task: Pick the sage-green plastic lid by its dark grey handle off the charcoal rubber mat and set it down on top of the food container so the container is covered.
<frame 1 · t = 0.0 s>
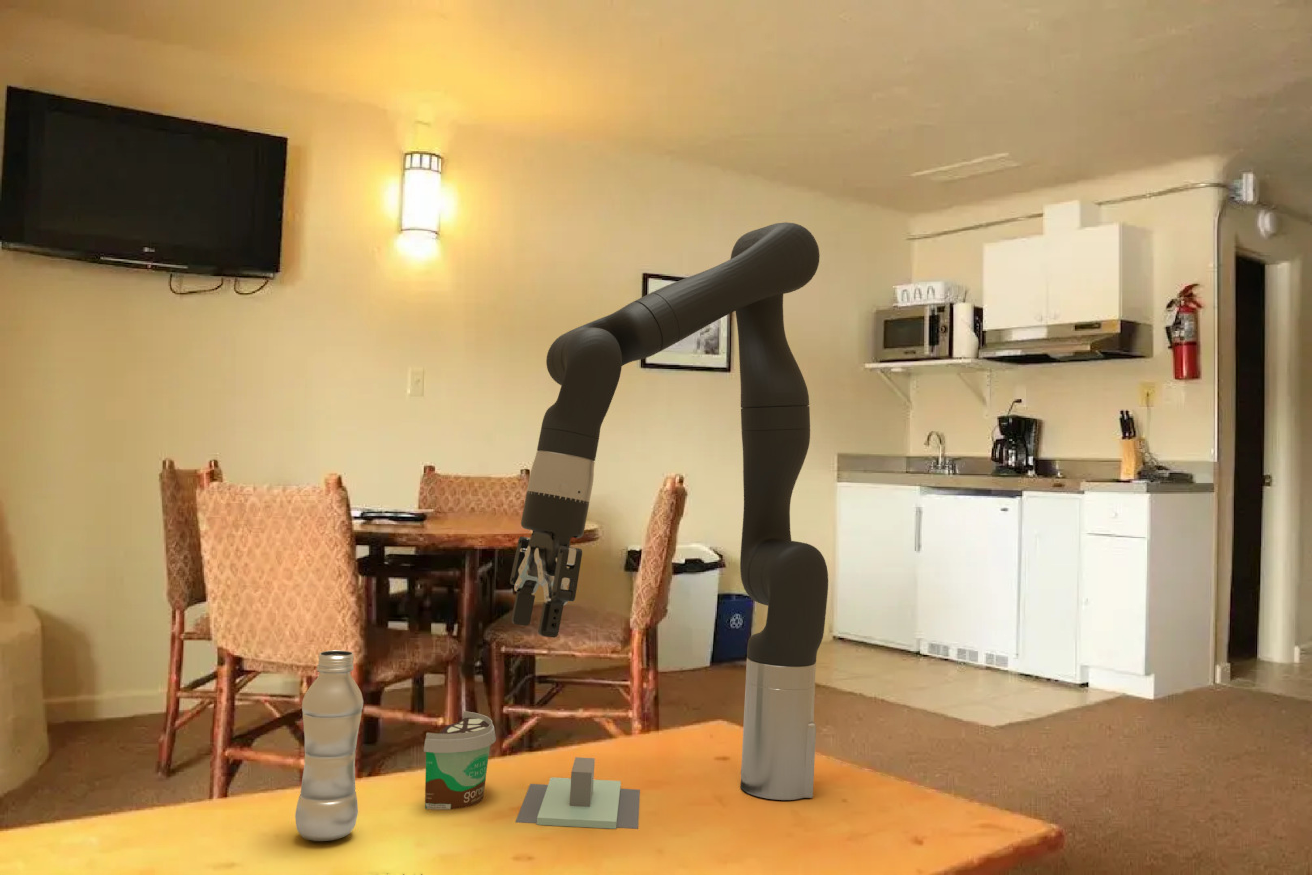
hand: (533, 630, 120), 22 cm above the table, tool pointing down, fingers open, 8 cm apart
rubber mat: (580, 813, 123), on the table
plastic bottle: (325, 839, 111), on the table
food container: (464, 808, 123), on the table
lid: (581, 804, 123), point 1 cm above the table, touching rubber mat
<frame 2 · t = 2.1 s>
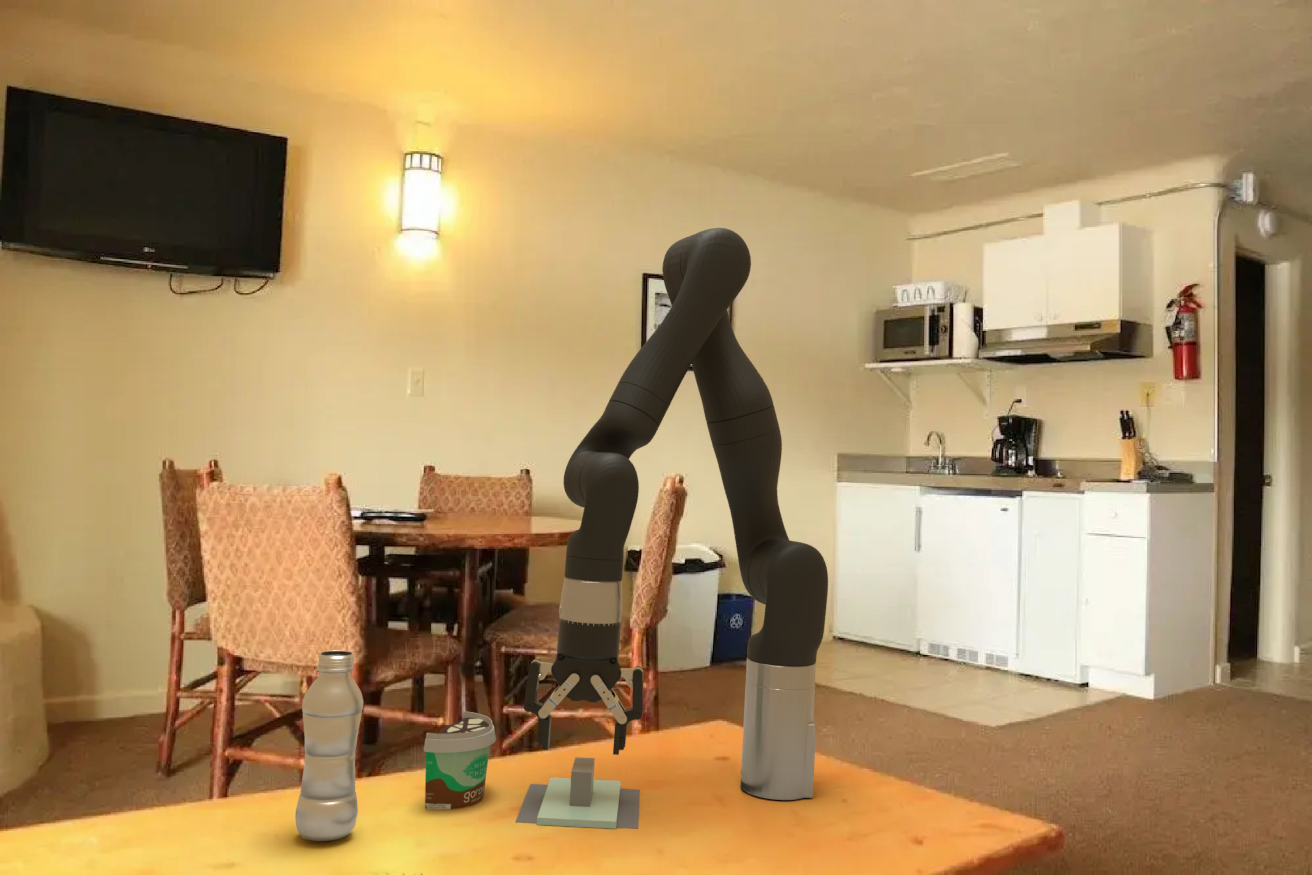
hand: (580, 750, 124), 7 cm above the table, tool pointing down, fingers open, 8 cm apart
nothing on the table moved.
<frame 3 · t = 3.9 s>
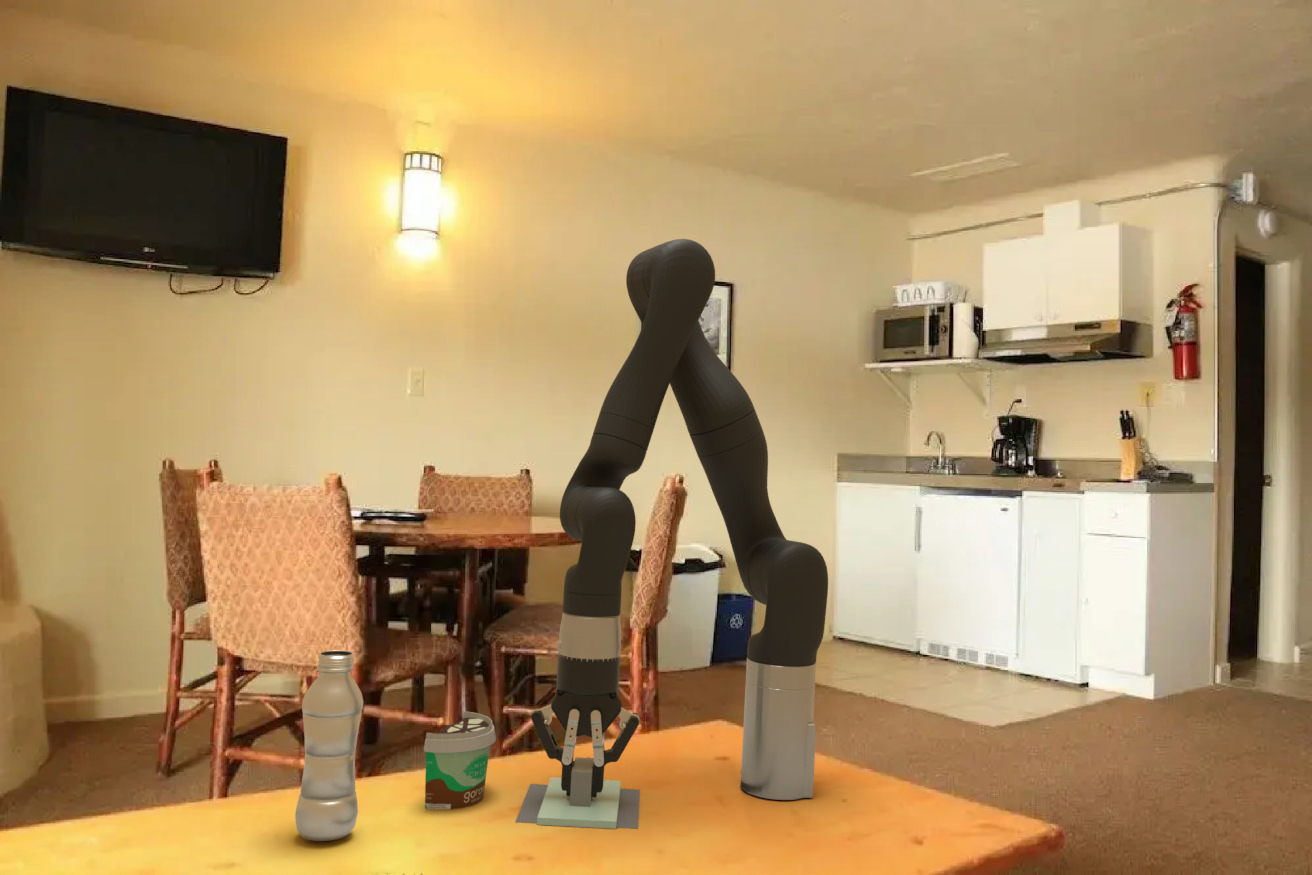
hand: (581, 793, 123), 2 cm above the table, tool pointing down, fingers closed on lid, 2 cm apart
lid: (581, 804, 123), point 1 cm above the table, touching gripper, rubber mat
everything else where it was.
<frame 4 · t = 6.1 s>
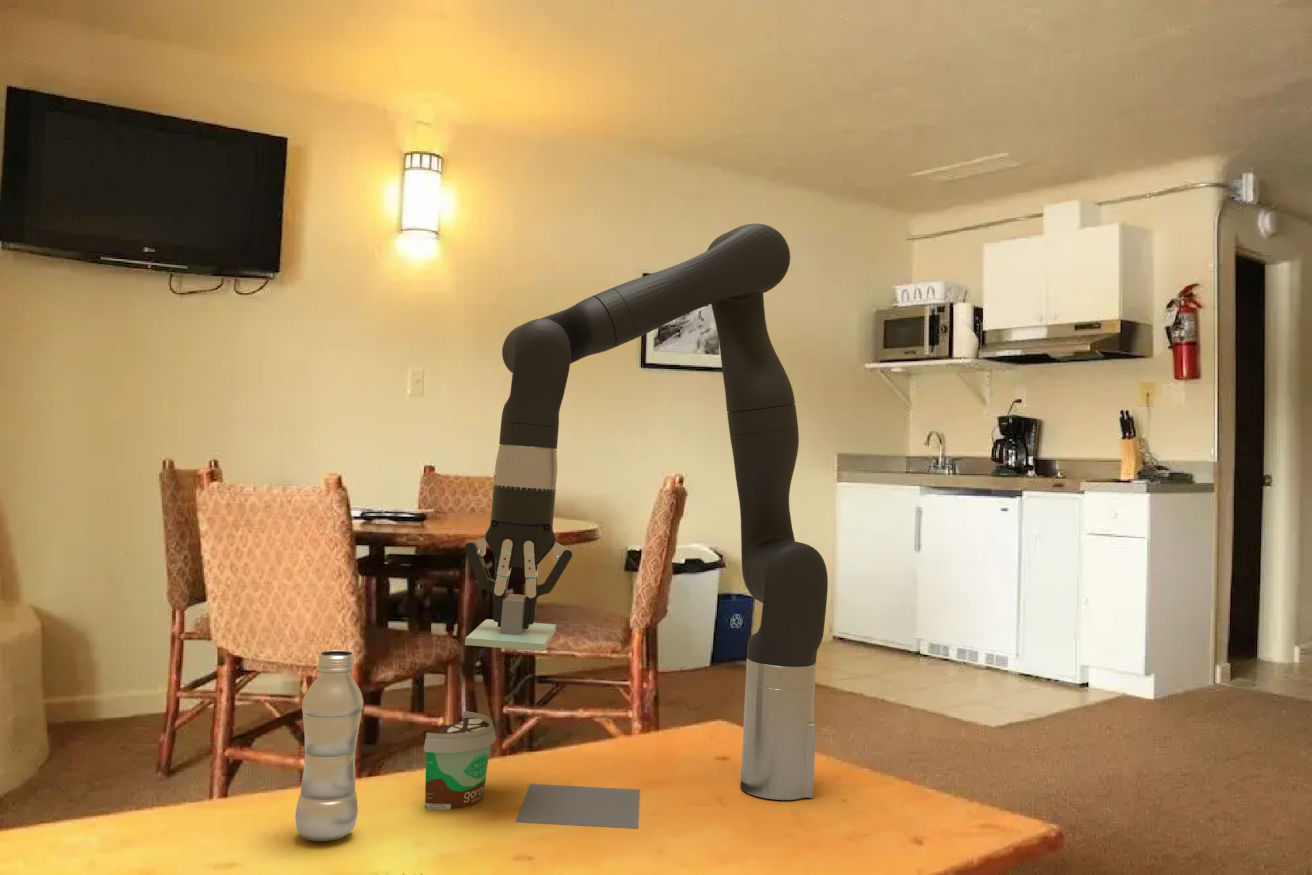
hand: (513, 626, 124), 22 cm above the table, tool pointing down, fingers closed on lid, 2 cm apart
lid: (513, 637, 124), point 21 cm above the table, touching gripper
everything else where it was.
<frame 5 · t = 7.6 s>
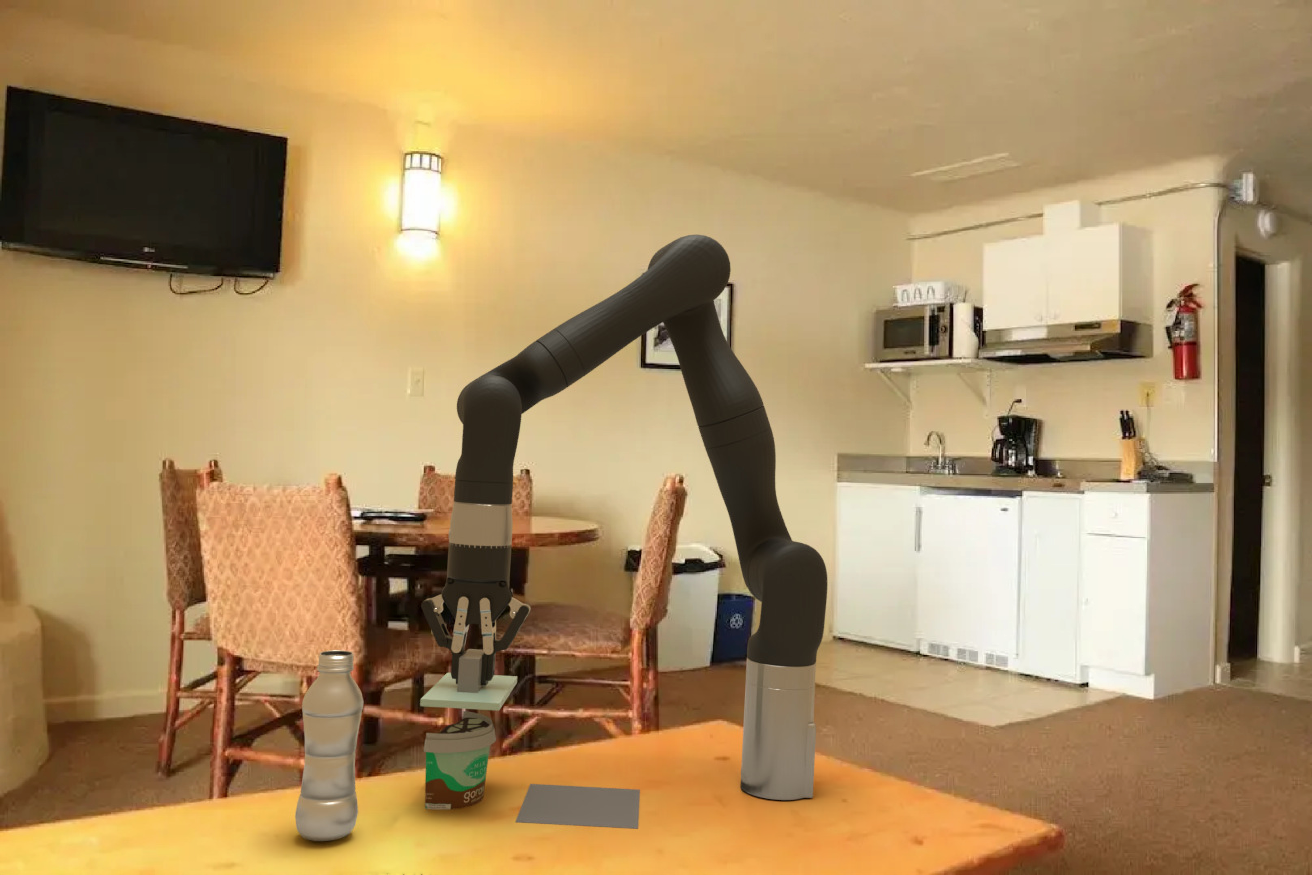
hand: (471, 682, 124), 15 cm above the table, tool pointing down, fingers closed on lid, 2 cm apart
lid: (471, 693, 124), point 14 cm above the table, touching gripper
everything else where it was.
when the fingers open (14 cm above the table, at t = 8.5 s): lid drops 2 cm, resting on food container.
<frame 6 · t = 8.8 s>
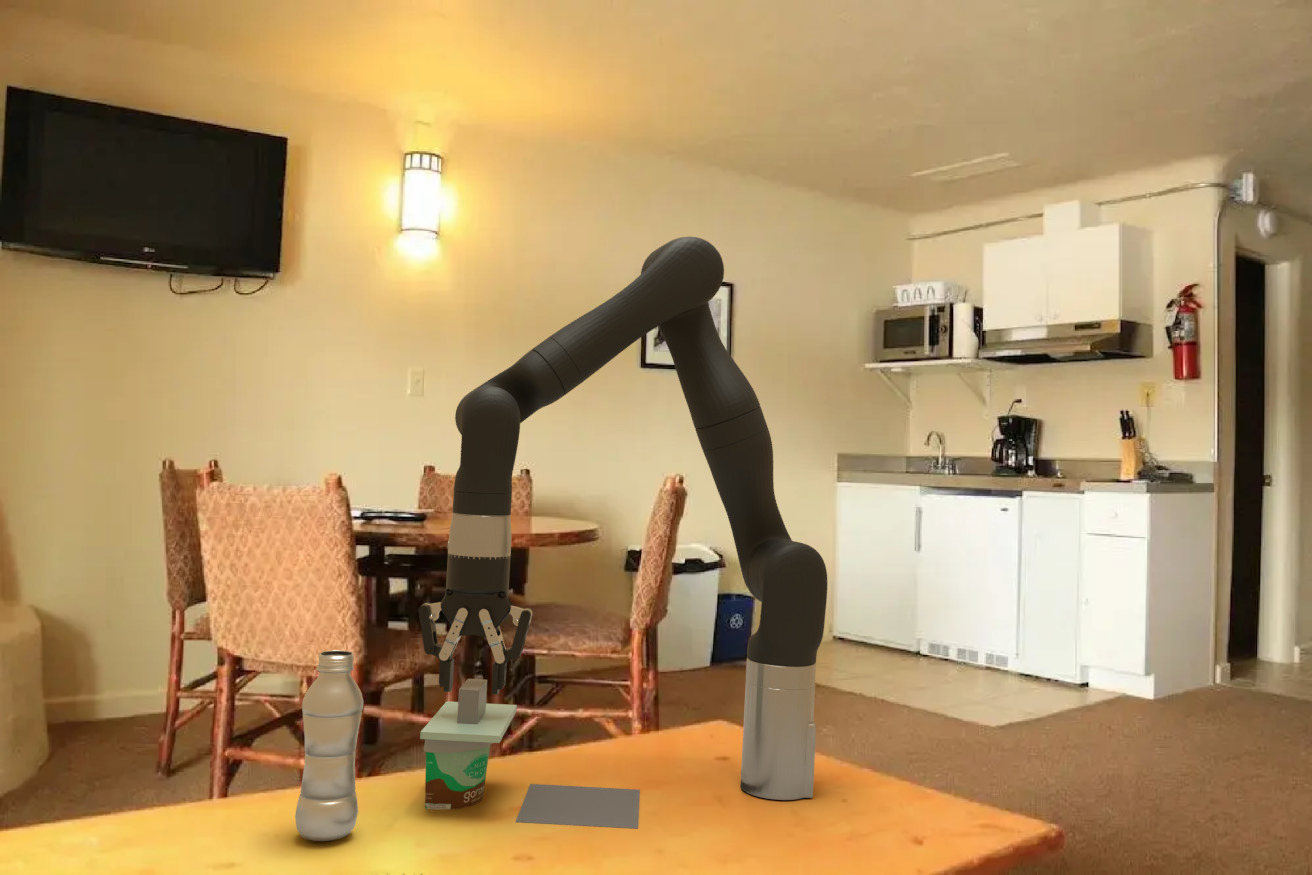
hand: (471, 691, 124), 14 cm above the table, tool pointing down, fingers open, 5 cm apart
food container: (464, 808, 123), on the table, touching lid
lid: (471, 724, 124), point 10 cm above the table, touching food container
everything else where it was.
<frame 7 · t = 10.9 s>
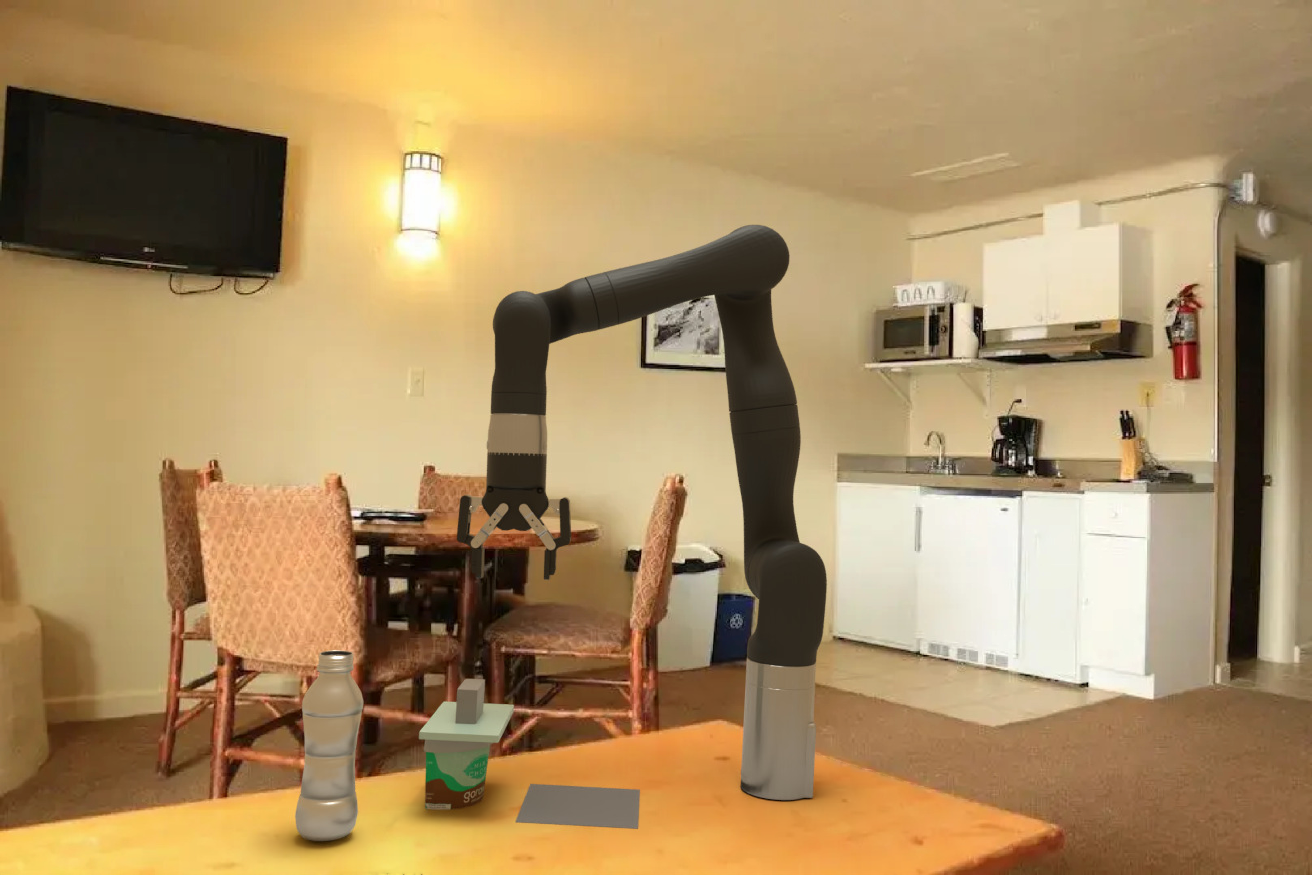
hand: (513, 578, 130), 27 cm above the table, tool pointing down, fingers open, 8 cm apart
nothing on the table moved.
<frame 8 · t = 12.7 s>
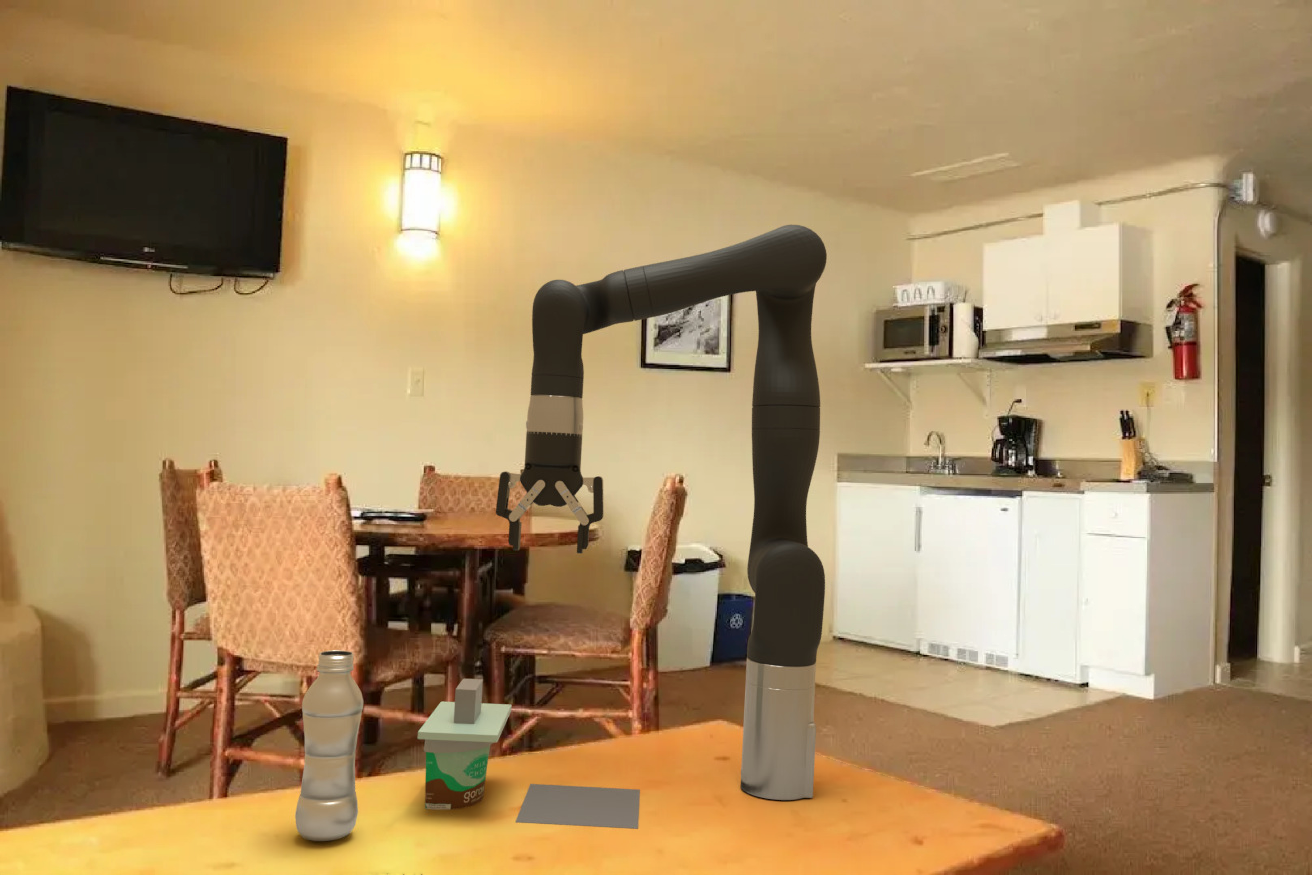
hand: (547, 551, 137), 30 cm above the table, tool pointing down, fingers open, 8 cm apart
nothing on the table moved.
at the end: lid 0.3 cm off-centre on the food container, point 10.2 cm above the food container's base; lid touching food container; food container tilted 0° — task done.
